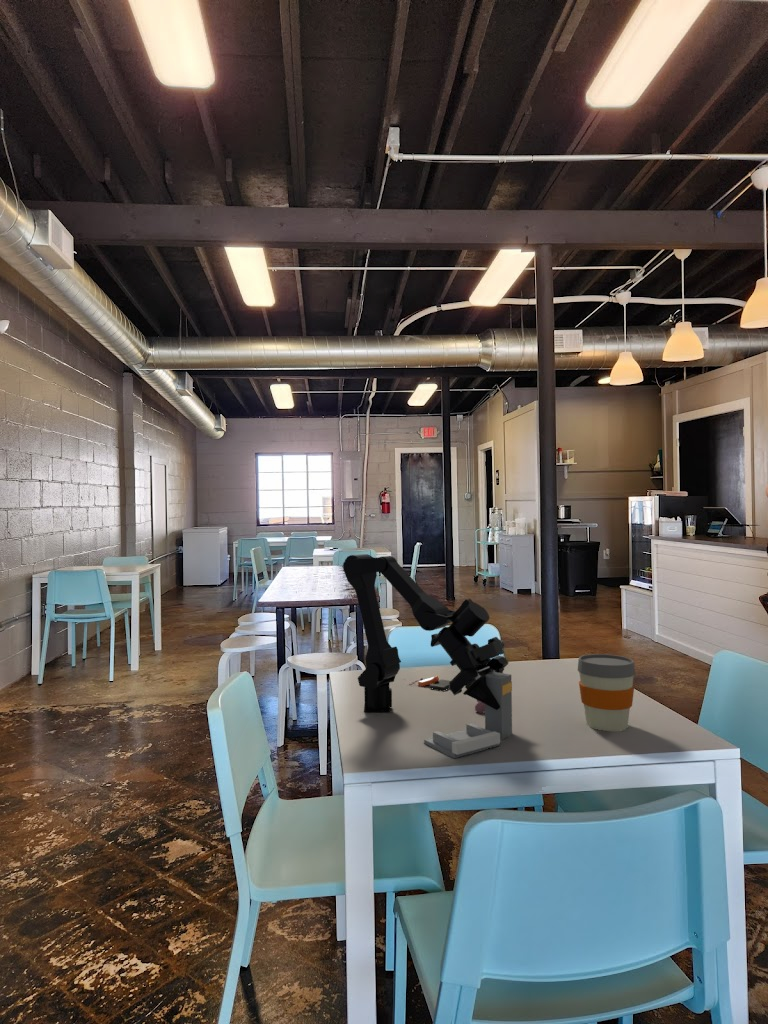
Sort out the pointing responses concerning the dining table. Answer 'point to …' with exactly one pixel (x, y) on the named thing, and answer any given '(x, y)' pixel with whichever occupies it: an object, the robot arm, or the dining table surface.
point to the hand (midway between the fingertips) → (504, 705)
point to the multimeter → (434, 683)
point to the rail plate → (464, 741)
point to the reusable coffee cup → (606, 690)
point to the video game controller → (480, 707)
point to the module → (503, 694)
